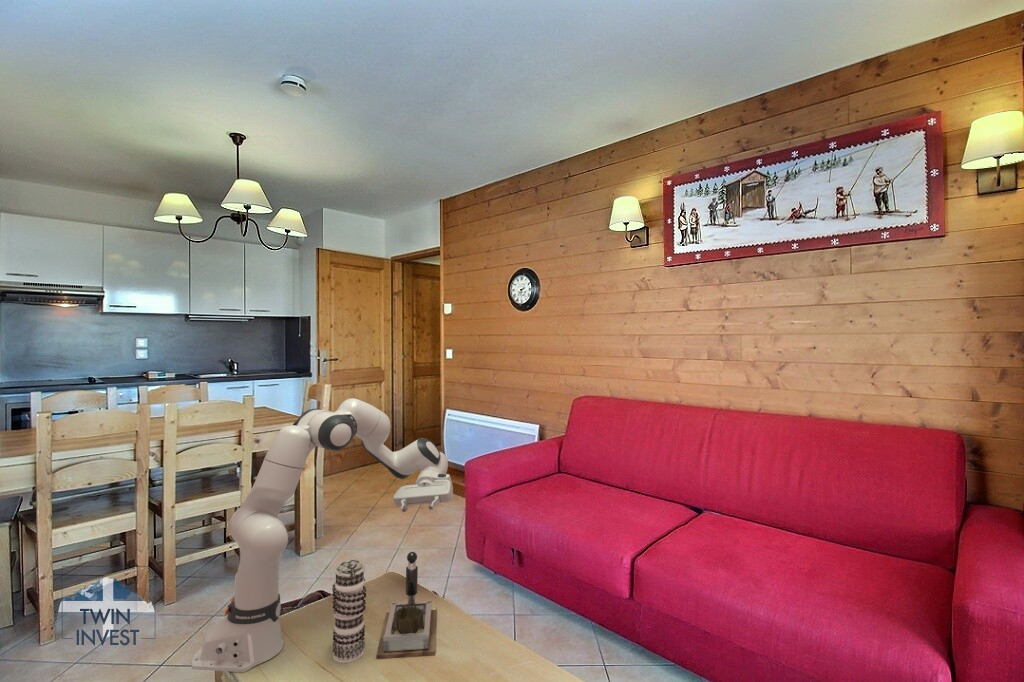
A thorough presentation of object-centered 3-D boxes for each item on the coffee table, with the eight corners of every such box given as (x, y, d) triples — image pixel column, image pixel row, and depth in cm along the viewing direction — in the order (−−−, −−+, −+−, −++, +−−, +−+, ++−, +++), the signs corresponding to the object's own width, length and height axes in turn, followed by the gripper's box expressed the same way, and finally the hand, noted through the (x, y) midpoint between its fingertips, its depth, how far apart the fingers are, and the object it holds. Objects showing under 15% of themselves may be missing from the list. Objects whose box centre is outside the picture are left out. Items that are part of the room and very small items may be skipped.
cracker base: (376, 659, 135) (376, 637, 135) (386, 615, 156) (386, 596, 156) (434, 655, 137) (435, 633, 137) (436, 612, 158) (437, 594, 158)
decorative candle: (328, 648, 139) (330, 560, 139) (362, 639, 143) (363, 554, 143) (333, 667, 131) (334, 574, 131) (369, 657, 135) (370, 567, 135)
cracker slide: (383, 651, 136) (384, 582, 136) (391, 610, 157) (392, 550, 157) (428, 648, 137) (429, 580, 137) (431, 608, 158) (432, 548, 158)
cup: (415, 648, 140) (415, 620, 140) (391, 644, 141) (391, 616, 141) (424, 632, 147) (425, 606, 147) (401, 629, 149) (402, 603, 149)
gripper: (398, 479, 174) (384, 503, 161) (453, 474, 171) (444, 498, 158) (402, 494, 176) (389, 519, 163) (457, 489, 172) (448, 514, 159)
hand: (417, 509), depth 160 cm, fingers open, 8 cm apart
